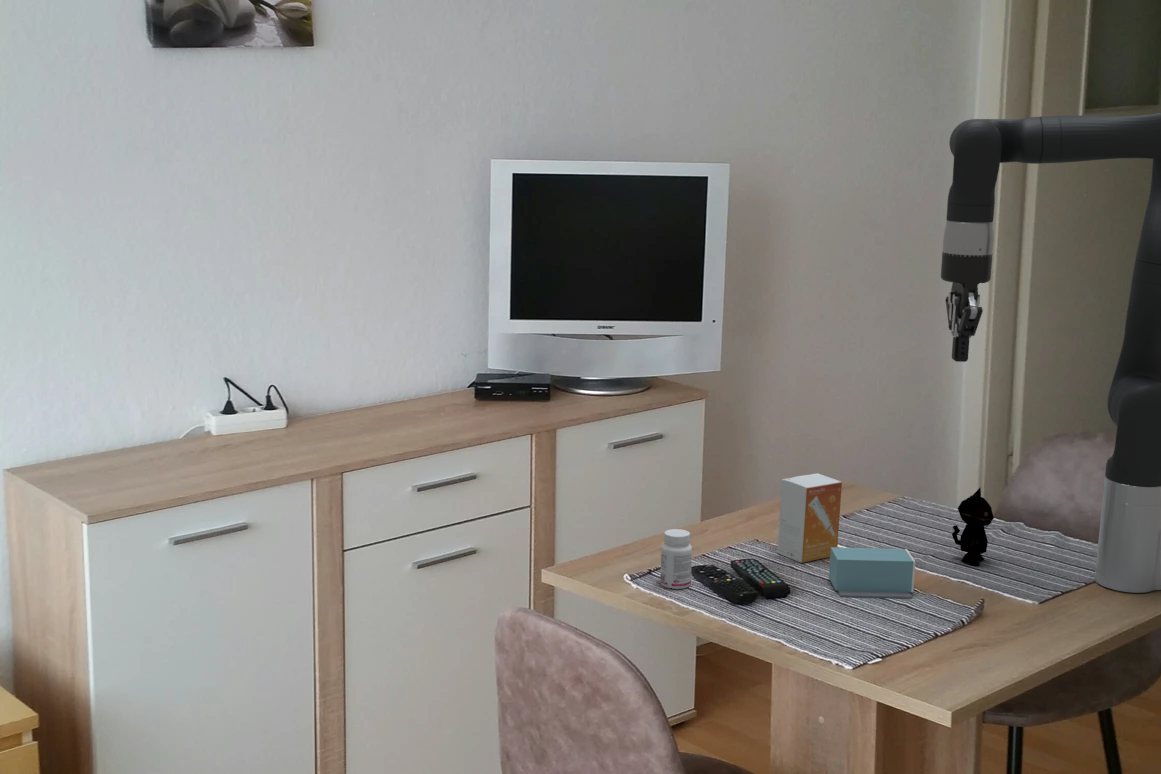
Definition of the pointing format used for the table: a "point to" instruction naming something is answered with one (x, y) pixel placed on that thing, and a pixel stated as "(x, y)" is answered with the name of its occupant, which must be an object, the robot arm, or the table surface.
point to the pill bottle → (676, 559)
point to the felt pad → (875, 594)
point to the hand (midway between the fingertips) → (959, 360)
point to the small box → (809, 517)
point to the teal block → (872, 569)
